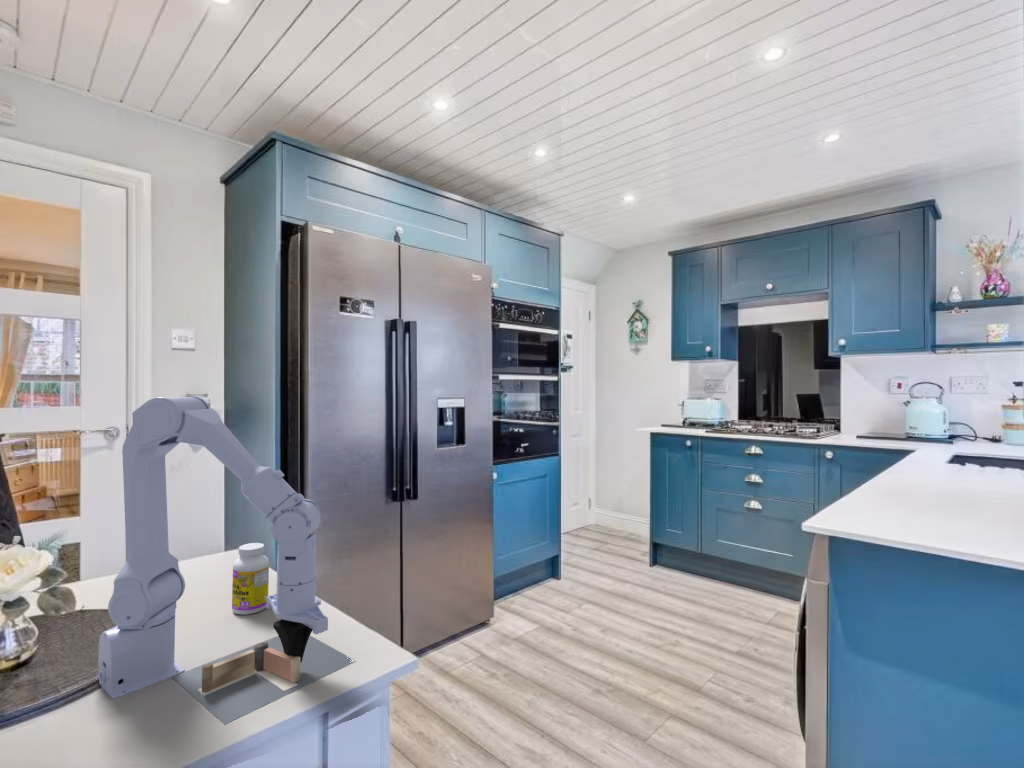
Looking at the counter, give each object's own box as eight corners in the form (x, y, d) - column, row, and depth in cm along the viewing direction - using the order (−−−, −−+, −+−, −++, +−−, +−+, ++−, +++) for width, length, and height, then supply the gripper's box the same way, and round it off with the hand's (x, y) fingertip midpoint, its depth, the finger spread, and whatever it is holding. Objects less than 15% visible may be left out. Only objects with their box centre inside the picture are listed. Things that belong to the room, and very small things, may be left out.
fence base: (205, 695, 77) (205, 670, 77) (199, 690, 78) (199, 665, 78) (270, 667, 85) (270, 645, 85) (263, 663, 86) (264, 641, 86)
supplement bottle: (224, 611, 106) (225, 547, 106) (254, 599, 111) (255, 539, 111) (245, 618, 102) (247, 553, 102) (275, 606, 108) (276, 544, 108)
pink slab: (262, 669, 83) (262, 649, 83) (270, 665, 84) (270, 645, 84) (294, 683, 80) (295, 662, 80) (302, 678, 81) (302, 657, 81)
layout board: (224, 727, 70) (224, 723, 70) (171, 679, 81) (171, 676, 81) (356, 663, 87) (356, 660, 87) (297, 630, 98) (297, 628, 98)
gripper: (345, 582, 82) (344, 669, 82) (294, 562, 91) (293, 640, 91) (304, 597, 77) (302, 689, 77) (254, 573, 85) (252, 656, 85)
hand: (294, 664), depth 83 cm, fingers closed, pressing on pink slab
